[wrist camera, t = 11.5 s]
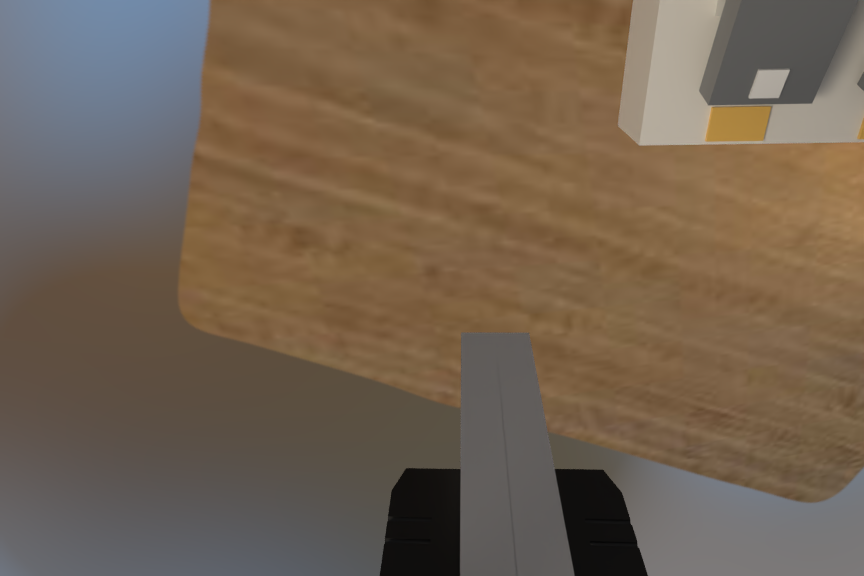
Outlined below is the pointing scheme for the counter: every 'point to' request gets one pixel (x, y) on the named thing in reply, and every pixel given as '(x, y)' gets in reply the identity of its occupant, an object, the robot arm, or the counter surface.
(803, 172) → the counter surface
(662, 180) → the counter surface
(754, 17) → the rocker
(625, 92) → the switch unit
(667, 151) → the counter surface
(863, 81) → the block
